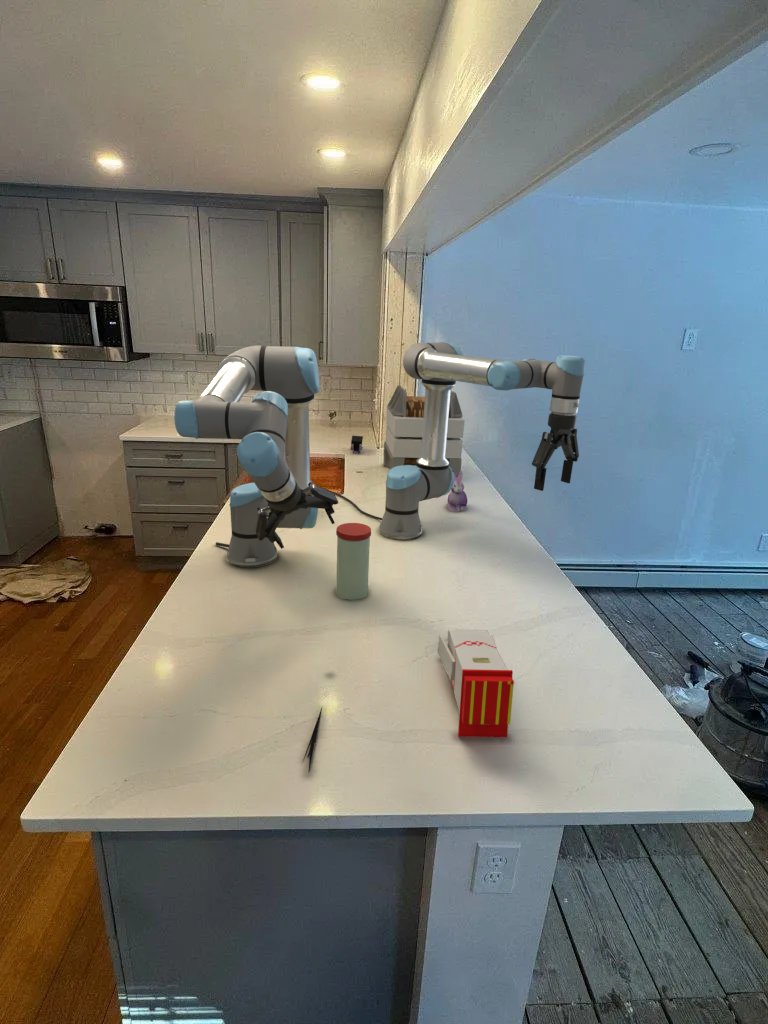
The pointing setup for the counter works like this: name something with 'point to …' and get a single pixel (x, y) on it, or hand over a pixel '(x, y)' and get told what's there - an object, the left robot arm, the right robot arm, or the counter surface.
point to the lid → (353, 531)
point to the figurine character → (356, 443)
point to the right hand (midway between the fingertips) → (552, 485)
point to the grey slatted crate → (418, 431)
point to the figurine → (457, 495)
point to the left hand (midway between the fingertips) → (306, 531)
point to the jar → (352, 568)
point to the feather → (313, 740)
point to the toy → (478, 682)
